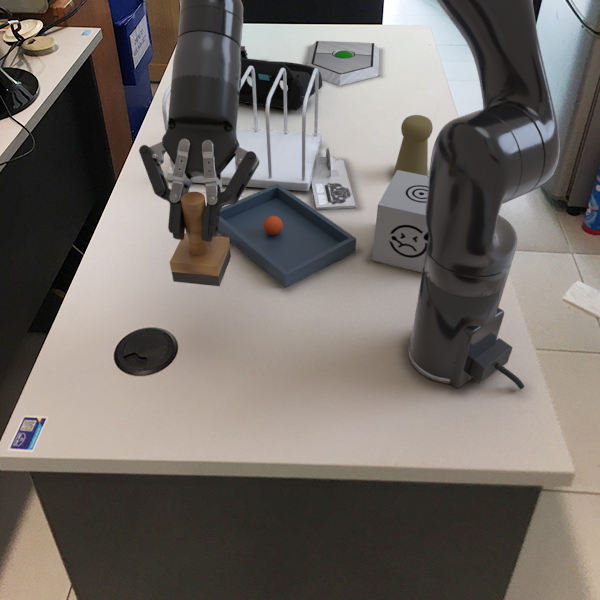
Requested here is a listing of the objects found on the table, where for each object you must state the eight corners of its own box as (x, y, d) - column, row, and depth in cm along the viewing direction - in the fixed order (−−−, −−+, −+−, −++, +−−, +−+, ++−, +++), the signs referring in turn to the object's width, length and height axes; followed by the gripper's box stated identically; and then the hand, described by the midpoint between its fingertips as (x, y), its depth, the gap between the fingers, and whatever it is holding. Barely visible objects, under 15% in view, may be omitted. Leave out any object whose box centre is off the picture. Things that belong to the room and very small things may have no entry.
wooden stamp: (231, 256, 77) (224, 186, 70) (219, 286, 73) (210, 214, 66) (187, 252, 77) (175, 182, 71) (173, 281, 73) (159, 210, 66)
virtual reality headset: (214, 104, 130) (213, 54, 125) (255, 80, 148) (255, 34, 142) (299, 117, 126) (301, 65, 120) (330, 90, 143) (334, 44, 138)
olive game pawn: (426, 186, 110) (435, 128, 102) (391, 183, 110) (398, 125, 103) (428, 169, 114) (437, 112, 106) (394, 165, 115) (401, 108, 107)
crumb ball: (285, 234, 99) (288, 222, 97) (270, 242, 98) (273, 229, 96) (273, 221, 100) (276, 209, 98) (258, 229, 99) (261, 216, 97)
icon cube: (452, 238, 99) (463, 183, 92) (437, 276, 92) (448, 220, 85) (390, 224, 101) (397, 169, 95) (372, 260, 95) (377, 204, 88)
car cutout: (307, 163, 115) (307, 140, 112) (343, 161, 116) (344, 139, 113) (316, 209, 104) (316, 186, 101) (355, 207, 105) (357, 184, 102)
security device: (301, 84, 141) (301, 75, 139) (310, 46, 157) (311, 38, 155) (378, 88, 139) (378, 79, 138) (379, 49, 156) (380, 41, 154)
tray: (355, 251, 96) (356, 238, 95) (285, 287, 90) (285, 275, 88) (278, 195, 108) (277, 183, 106) (210, 225, 101) (209, 212, 100)
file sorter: (168, 182, 111) (152, 97, 100) (195, 134, 123) (183, 55, 113) (308, 192, 108) (307, 105, 97) (322, 142, 120) (322, 61, 110)
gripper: (133, 69, 67) (118, 230, 66) (262, 74, 66) (249, 239, 65) (155, 95, 74) (142, 240, 74) (272, 100, 73) (260, 248, 72)
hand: (192, 239), depth 69 cm, fingers closed on wooden stamp, 2 cm apart
